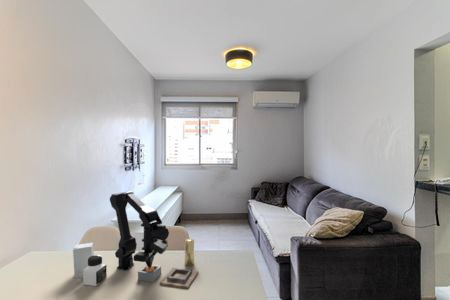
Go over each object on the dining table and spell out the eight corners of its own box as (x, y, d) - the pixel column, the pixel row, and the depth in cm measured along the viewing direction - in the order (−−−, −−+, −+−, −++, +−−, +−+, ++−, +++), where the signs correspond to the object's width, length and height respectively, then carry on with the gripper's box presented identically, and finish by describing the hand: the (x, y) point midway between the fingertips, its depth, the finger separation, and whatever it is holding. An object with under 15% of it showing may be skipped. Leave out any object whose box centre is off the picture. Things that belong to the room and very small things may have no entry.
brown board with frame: (159, 284, 115) (159, 279, 115) (172, 269, 129) (172, 265, 129) (187, 288, 112) (187, 283, 112) (198, 273, 126) (198, 268, 126)
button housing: (138, 280, 119) (137, 271, 119) (147, 271, 127) (146, 264, 127) (153, 282, 117) (153, 273, 117) (161, 273, 125) (161, 265, 125)
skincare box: (94, 270, 128) (94, 241, 128) (92, 276, 123) (92, 246, 122) (75, 273, 126) (75, 243, 125) (73, 279, 120) (72, 248, 120)
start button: (144, 275, 121) (144, 268, 121) (148, 270, 125) (148, 265, 125) (151, 276, 120) (151, 269, 120) (155, 271, 124) (155, 266, 124)
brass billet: (183, 265, 134) (183, 241, 133) (186, 261, 138) (186, 238, 138) (192, 266, 132) (192, 242, 132) (195, 262, 137) (195, 239, 137)
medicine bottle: (96, 286, 114) (96, 260, 113) (83, 284, 115) (82, 259, 115) (106, 278, 121) (106, 253, 120) (94, 276, 122) (93, 252, 122)
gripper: (154, 245, 111) (154, 279, 111) (173, 231, 129) (173, 260, 129) (132, 242, 113) (132, 276, 114) (153, 229, 132) (153, 258, 132)
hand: (149, 267), depth 122 cm, fingers closed, pressing on start button
